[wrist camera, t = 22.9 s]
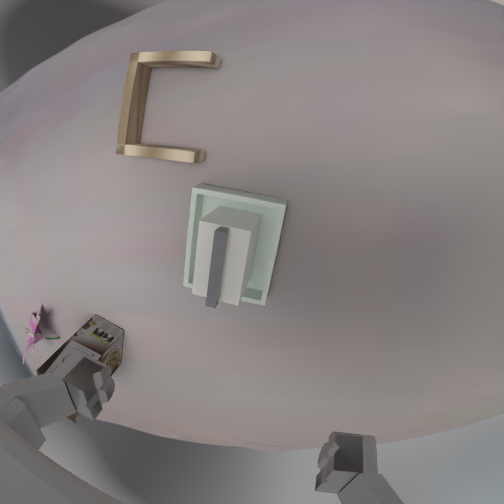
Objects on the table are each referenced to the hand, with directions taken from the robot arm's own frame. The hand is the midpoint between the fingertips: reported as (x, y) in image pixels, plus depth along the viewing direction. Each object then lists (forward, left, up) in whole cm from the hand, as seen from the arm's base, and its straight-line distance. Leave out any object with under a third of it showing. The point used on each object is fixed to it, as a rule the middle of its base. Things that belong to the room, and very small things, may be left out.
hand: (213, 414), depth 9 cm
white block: (+5, +4, -27) cm, 28 cm away
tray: (+5, +4, -27) cm, 28 cm away
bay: (+15, -11, -27) cm, 33 cm away
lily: (+41, +30, -28) cm, 58 cm away
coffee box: (+25, +27, -28) cm, 46 cm away
